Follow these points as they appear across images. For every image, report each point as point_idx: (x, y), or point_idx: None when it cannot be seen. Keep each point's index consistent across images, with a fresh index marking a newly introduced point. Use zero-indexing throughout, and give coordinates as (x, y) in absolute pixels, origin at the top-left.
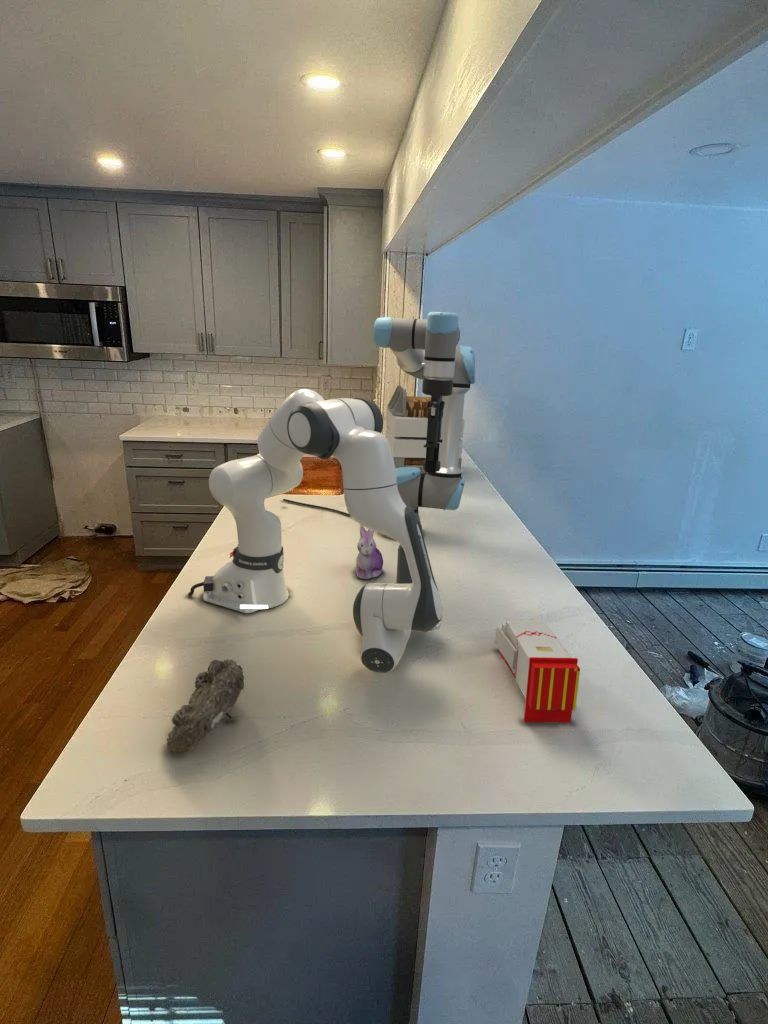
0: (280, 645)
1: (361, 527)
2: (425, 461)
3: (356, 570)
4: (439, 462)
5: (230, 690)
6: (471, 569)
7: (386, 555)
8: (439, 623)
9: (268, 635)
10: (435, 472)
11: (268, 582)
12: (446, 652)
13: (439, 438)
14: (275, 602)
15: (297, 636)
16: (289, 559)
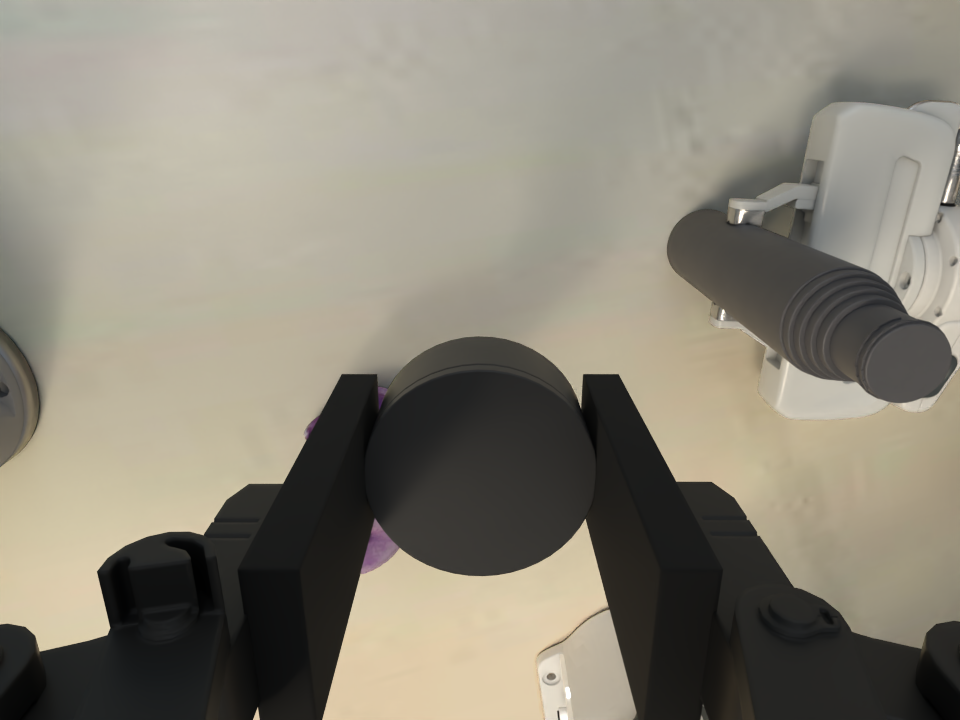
0: (882, 544)
1: (371, 566)
2: (490, 553)
3: None
4: (473, 385)
5: None
6: (191, 15)
7: (207, 396)
8: (942, 105)
9: (836, 585)
10: (600, 375)
11: None
12: (894, 71)
13: (173, 653)
14: None
15: (835, 520)
16: (372, 673)
